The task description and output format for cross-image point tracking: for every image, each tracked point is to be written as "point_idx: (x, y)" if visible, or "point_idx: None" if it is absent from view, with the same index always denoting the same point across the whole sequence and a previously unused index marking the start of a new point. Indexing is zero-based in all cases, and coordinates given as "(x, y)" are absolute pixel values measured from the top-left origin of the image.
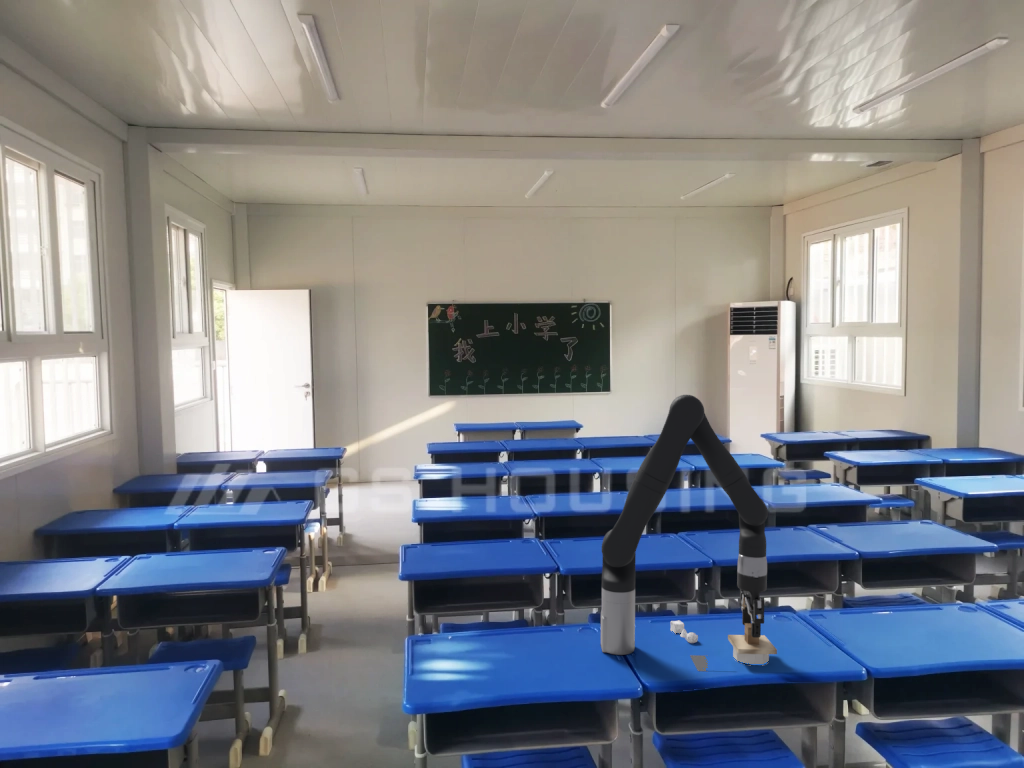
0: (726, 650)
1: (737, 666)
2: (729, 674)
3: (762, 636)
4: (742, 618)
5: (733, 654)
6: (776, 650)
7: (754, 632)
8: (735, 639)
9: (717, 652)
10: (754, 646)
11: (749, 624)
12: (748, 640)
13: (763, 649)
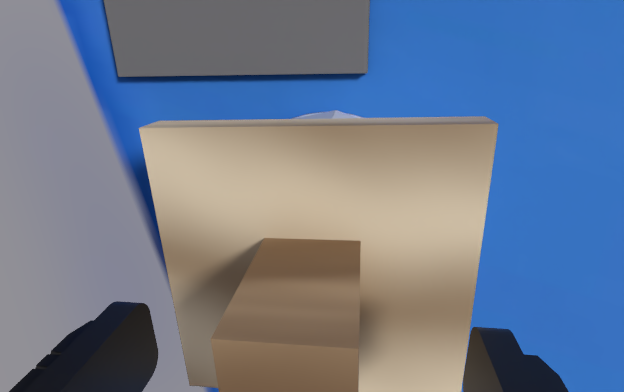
0: (498, 101)
1: (228, 107)
2: (98, 20)
3: (435, 388)
4: (527, 383)
5: (329, 114)
6: (190, 378)
7: (54, 349)
8: (366, 164)
9: (465, 19)
10: (221, 270)
11: (320, 386)
12: (257, 258)
13: (177, 311)
